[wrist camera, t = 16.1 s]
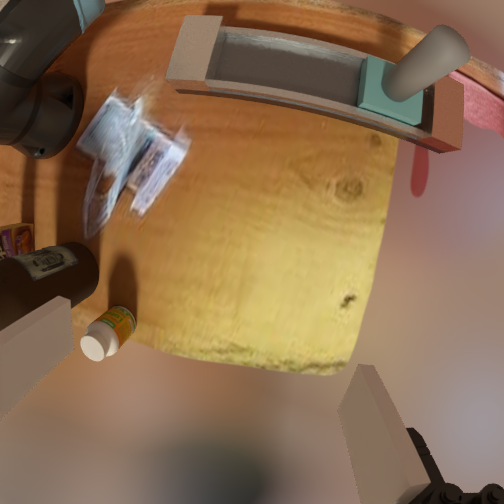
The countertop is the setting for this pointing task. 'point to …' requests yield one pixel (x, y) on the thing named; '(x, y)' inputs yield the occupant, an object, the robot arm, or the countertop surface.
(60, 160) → the countertop surface
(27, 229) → the candy box
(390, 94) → the carriage
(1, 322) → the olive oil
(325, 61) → the rail track
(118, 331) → the supplement bottle
